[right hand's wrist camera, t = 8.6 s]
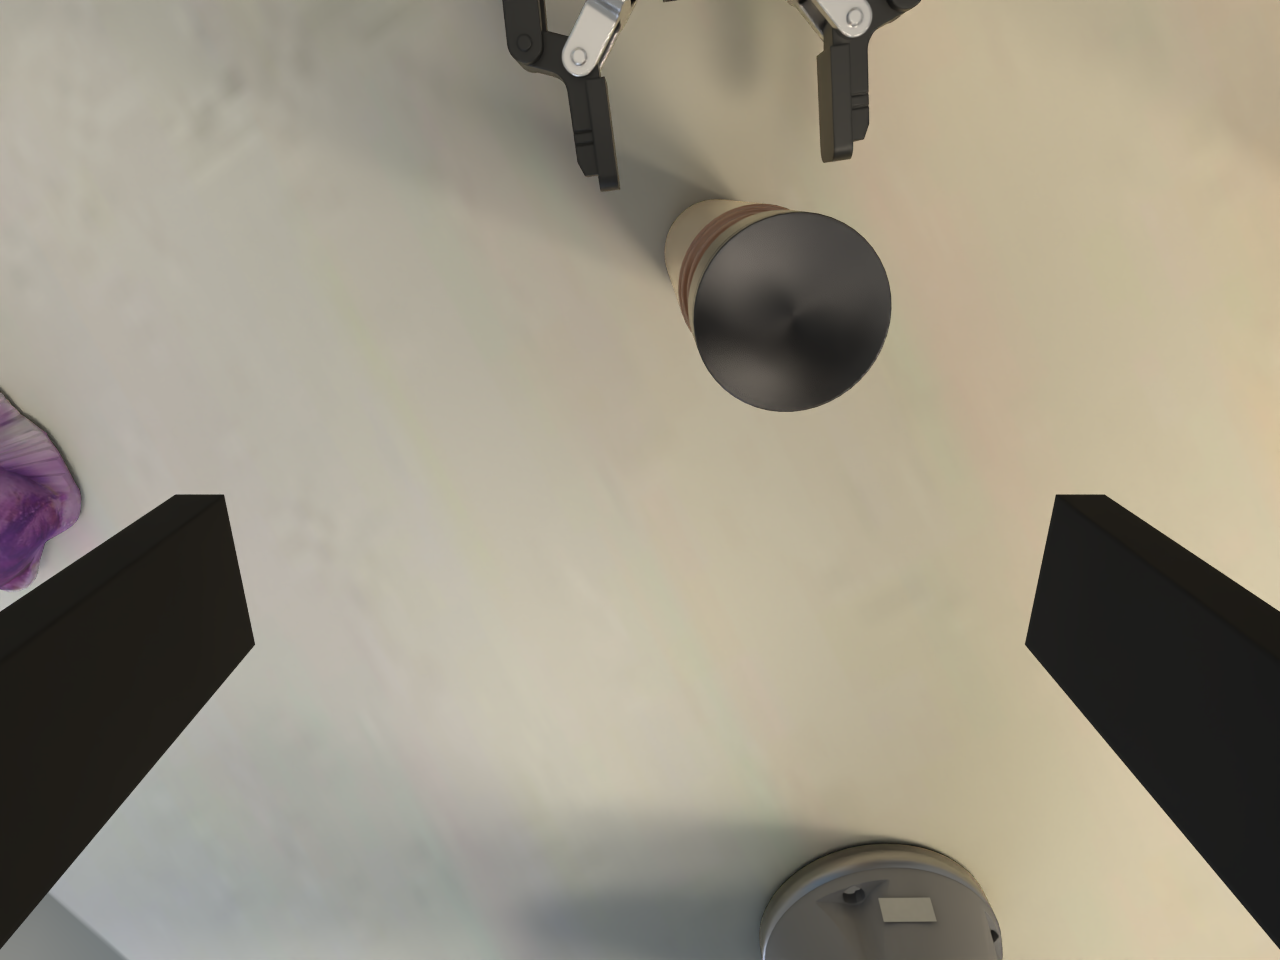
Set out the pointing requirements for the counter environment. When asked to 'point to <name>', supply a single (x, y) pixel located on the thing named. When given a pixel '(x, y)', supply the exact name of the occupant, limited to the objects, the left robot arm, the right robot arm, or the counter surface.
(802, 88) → the counter surface
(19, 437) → the figurine
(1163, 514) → the counter surface
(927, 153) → the counter surface
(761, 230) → the cap
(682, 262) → the bottle
